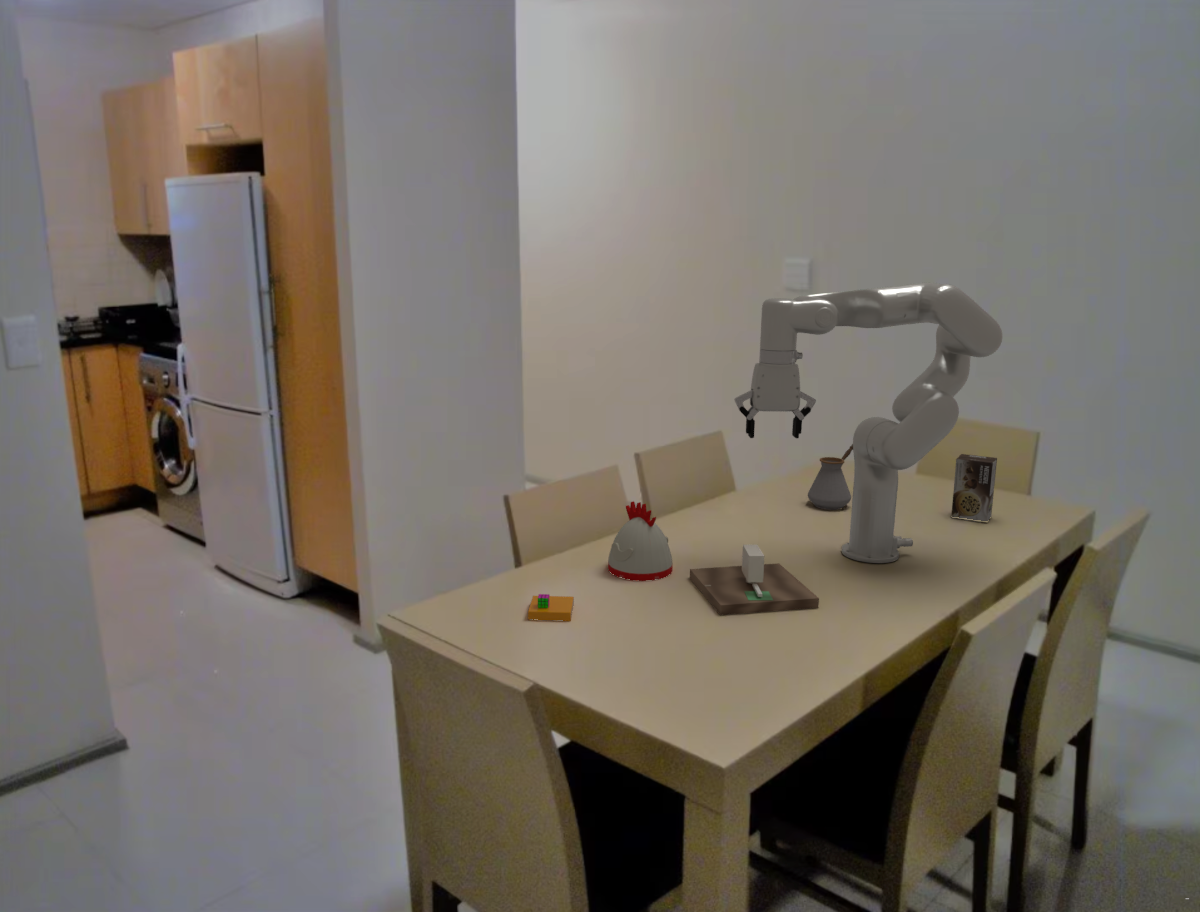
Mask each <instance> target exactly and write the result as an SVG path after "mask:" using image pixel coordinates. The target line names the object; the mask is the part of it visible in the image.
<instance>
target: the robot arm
mask: <svg viewBox="0 0 1200 912" xmlns="http://www.w3.org/2000/svg"><path fill="white" fill-rule="evenodd" d="M761 305H762V307H761V316H760V317H761V319H760V320H761V321H760V338H759V341H760V343H759V344H760V345H759V358H758V359H759V360H758V362H756V363H754V366H753V373H752V378H751V384H750V390H748V391H747V392H744V393H742V394H741V395H739V396H736V397H735V398H734V403H735V404H736V407H737V409H738V410H739V412H740V413H741V414H742V415H743V416H744V417H745V418H746V421H745V434H746V435H747V436H748V437H749V438H750V439H754V438H755V424H756V421H755V419H754V417H755V416H756V415H758V413H759V412H792V414H793V415H794V417H793V419H792V431H791V434H792V435H791V436H793V438H795V439H799V436H800V434H802V428H803V427H802V426H803V425H802V424H803V421H804V419H805V418H806V417H807V416H808V415H809V414H810V413H811V412H812V409H813V408H814V405H815V404H816V402H817V400H816V399H815V398H814V397H812V395H811V396H810V395H808V394H807V393H805V392H803V391H802V390H801V381H800V380H801V377H800V370H799V369H800V368H799V365H798V363H797V360H803V356H804V355H803V352H799V351H798V350H797V339H798V333H801V334H810V335H816V336H819V335H820V336H821V335H826V334H828V333H830V332H831V331H832V330H834V329H835V328H836V327H853V328H862V329H880V328H881V329H882V328H890V327H897V326H904V325H905V326H906V325H913V324H915V325H916V324H925V323H927V324H929V323H930V324H934V325H935V324H936V325H937V328H936V331H935V344H936V346H935V355H934V358H933V360H932V361H931V363H930V364H929V366H928V367H927V368H925V370H923V372H922V373H920V375H919V376H917V377H916V378H915V379H914V380H913V381H912V382H911V383H910V384H909V385H907V386H906V387H905V388H904V389H903V390H902V391H901V392H900V393H898V395H897V396H896V397H895V399H894V400H893V403H892V408H891V410H892V413H893V416H894V418H895V419H896V420H897V421H898V422H896V421H893V420H891V419H887V418H885V417H881V416H872V417H868V418H866V419H864V420H862V421H861V422H860V423H859V424H858V425H857V426H856V427H855V430H854V433H853V435H852V436H853V437H852V444H853V450H852V452H853V463H854V469H853V471H854V472H853V473H854V475H853V486H852V497H851V511H850V512H851V514H850V524H849V525H850V526H849V527H850V528H849V541H848V542H846V543H845V544H842V546H841V553H842V555H844V556H845V557H847V558H848V559H851V560H853V561H858V562H861V563H868V564H869V563H870V564H887V563H892V562H895V561H897V560H898V559H899V558H900V551H899V550H898V549H900V548H901V547H907V548H908V547H913V545H914V541H913V538H912V537H908V538H907V537H905V538H902V536H900V535H899V536H898V535H894V534H895V523H896V519H895V518H896V509H897V499H898V498H897V497H898V489H899V471H903V470H907V469H909V468H911V467H913V466H914V465H916V464H917V463H918V462H920V461H921V460H922V459H923V458H925V456H927V454H928V453H930V451H932V450H933V449H934V448H935V447H936V446H937V445H938V444H939V443H940V442H941V441H942V440H944V439H945V438H946V437H947V436H948V435H949V434H950V432H951V431H953V429H954V427H955V425H956V424H957V421H958V419H959V413H960V411H959V404H958V402H957V400H956V399H955V398H954V397H955V396H956V395H957V394H958V393H959V392H960V391H961V390H962V389H963V387H964V386H965V384H966V383H967V381H968V378H969V374H970V370H971V369H970V368H971V357H974V358H986V357H989V356H991V355H993V354H995V353H996V352H997V351H998V350H999V348H1000V347H1001V344H1002V342H1003V331H1002V328H1001V326H1000V324H999V322H998V321H997V320H996V319H995V318H994V317H993V316H992V315H990V314H989V312H987V311H986V310H985V309H984V308H982V307H981V305H979V304H978V303H977V302H976V301H975V300H974V299H972V297H970V295H968V294H967V293H966V292H965V291H963V290H962V289H961V288H959V287H957V286H955V285H953V284H948V283H937V282H918V283H910V284H901V285H892V286H885V287H883V286H882V287H874V288H873V287H872V288H865V289H856V290H848V291H847V290H846V291H845V290H844V291H834V292H824V293H823V292H822V293H816V294H813V293H812V294H805V295H799V296H796V297H795V298H792V299H791V298H775V297H774V298H768V299H765V300H764V301H763V302H762V304H761ZM801 399H802V400H804V401H806V405H805V406H804V407H802V408H801V409H799V408H800V407H801ZM747 400H749V404H750V405H749V406H750V407H749V408H748V409H747V408H745V405H744V402H745V401H747Z"/></svg>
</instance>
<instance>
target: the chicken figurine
mask: <svg viewBox="0 0 1200 912" xmlns="http://www.w3.org/2000/svg"><path fill="white" fill-rule="evenodd" d="M625 509H626V513H627V516H628V519H629V520H628V521H627V522H626V523H624V524H623V525H622V527H621V528H620V529H619V531H618V532H617V534H616V536H615V537H614V540H613V542H612V544H611V548H610V550H609V554H608V560H607V561H608V562H607V570H608V569H609V570H608V572H609V571H610V572H611V573H612V574H614V575H616V576H618V577H622V578H625V579H624V580H626V579H630V580H629V581H633V580H639V581H638V582H647V581H646V580H652V581H656V580H655V579H658V580H661V578H662V579H664V577H665V578H667V577H669V576H670V575H672V573H673V557H672V552H671V549H670V546H669V545H670V544H669V537H668V536H666V535H665V533H664V532H663V530H662V529H661V527H660V526H659V525H658V524H657V523H656V519H657V516H655V517H654V516H653V517H652V518H651V516H652V510H651V509H650V510H647V504H646V503H642V502H637V504H636V503H635V501H634V500H633V501H630V504H628V505H625ZM610 572H609V573H610ZM671 572H672V573H671ZM611 573H610V574H611ZM612 574H611V575H612ZM669 574H670V575H669ZM614 575H613V576H614ZM668 575H669V576H668ZM616 576H615V577H616ZM666 576H667V577H666ZM618 577H617V578H618ZM622 578H621V579H622Z"/></svg>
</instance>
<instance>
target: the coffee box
mask: <svg viewBox="0 0 1200 912" xmlns="http://www.w3.org/2000/svg"><path fill="white" fill-rule="evenodd" d="M997 462H998V458H997V457H990V456H986V455H984V456H983V455H975V454H974V455H973V454H965V453H961V454H960V455H959V456H957V458H956V459H955V467H954V468H955V470H954V482H953V483H954V484H953V493H952V505H951V515H950V517H951V516H952V517H959V518H967V519H973V520H981V521H988V520H989V519H990V517H991V518H992V516H993V515H992V512H993V503H994V492H995V485H996V484H995V483H996V473H997V472H996V471H997ZM990 520H991V519H990ZM990 520H989V521H990Z"/></svg>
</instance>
